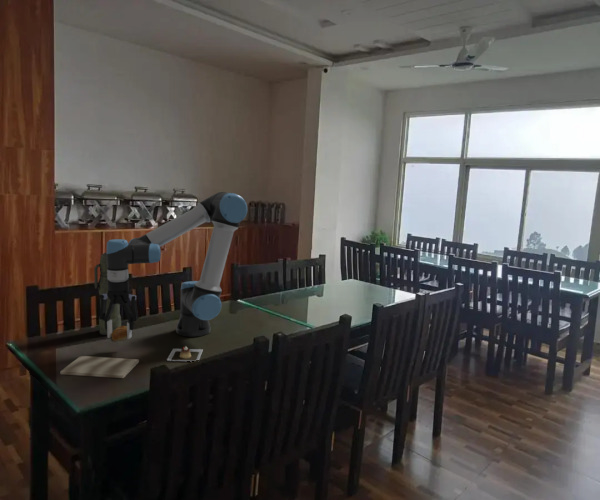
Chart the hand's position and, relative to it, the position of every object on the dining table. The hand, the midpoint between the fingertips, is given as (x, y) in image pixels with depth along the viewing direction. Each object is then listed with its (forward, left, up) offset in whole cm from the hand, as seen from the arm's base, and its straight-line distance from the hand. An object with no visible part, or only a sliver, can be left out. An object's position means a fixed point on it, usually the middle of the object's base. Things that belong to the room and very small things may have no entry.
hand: (119, 337), depth 179 cm
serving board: (0, +15, -6) cm, 16 cm away
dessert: (-26, 0, -7) cm, 27 cm away
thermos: (+13, -22, -6) cm, 26 cm away
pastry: (0, -1, -1) cm, 1 cm away
